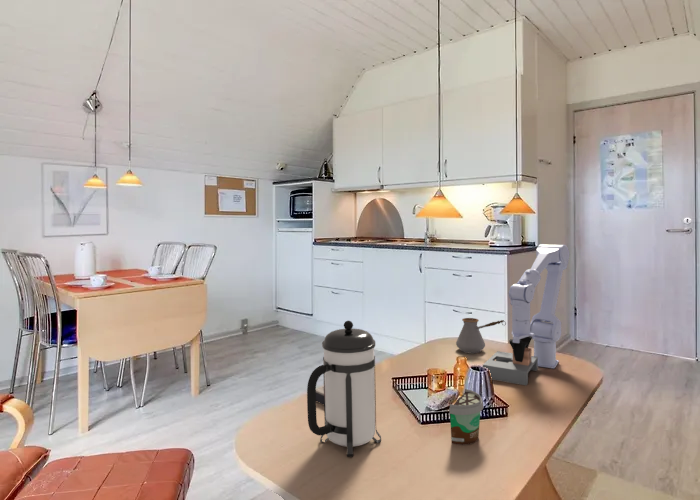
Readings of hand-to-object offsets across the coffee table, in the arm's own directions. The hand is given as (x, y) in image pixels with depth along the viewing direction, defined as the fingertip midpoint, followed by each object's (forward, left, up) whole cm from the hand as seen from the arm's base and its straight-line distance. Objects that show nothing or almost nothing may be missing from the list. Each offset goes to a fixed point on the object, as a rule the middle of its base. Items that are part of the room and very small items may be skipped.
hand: (520, 358), depth 153 cm
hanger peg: (0, 0, -4) cm, 4 cm away
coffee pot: (-18, -19, -6) cm, 27 cm away
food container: (+52, 0, -6) cm, 52 cm away
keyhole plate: (0, -3, -6) cm, 6 cm away
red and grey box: (+47, -41, -6) cm, 63 cm away
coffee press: (+70, -24, -6) cm, 74 cm away
